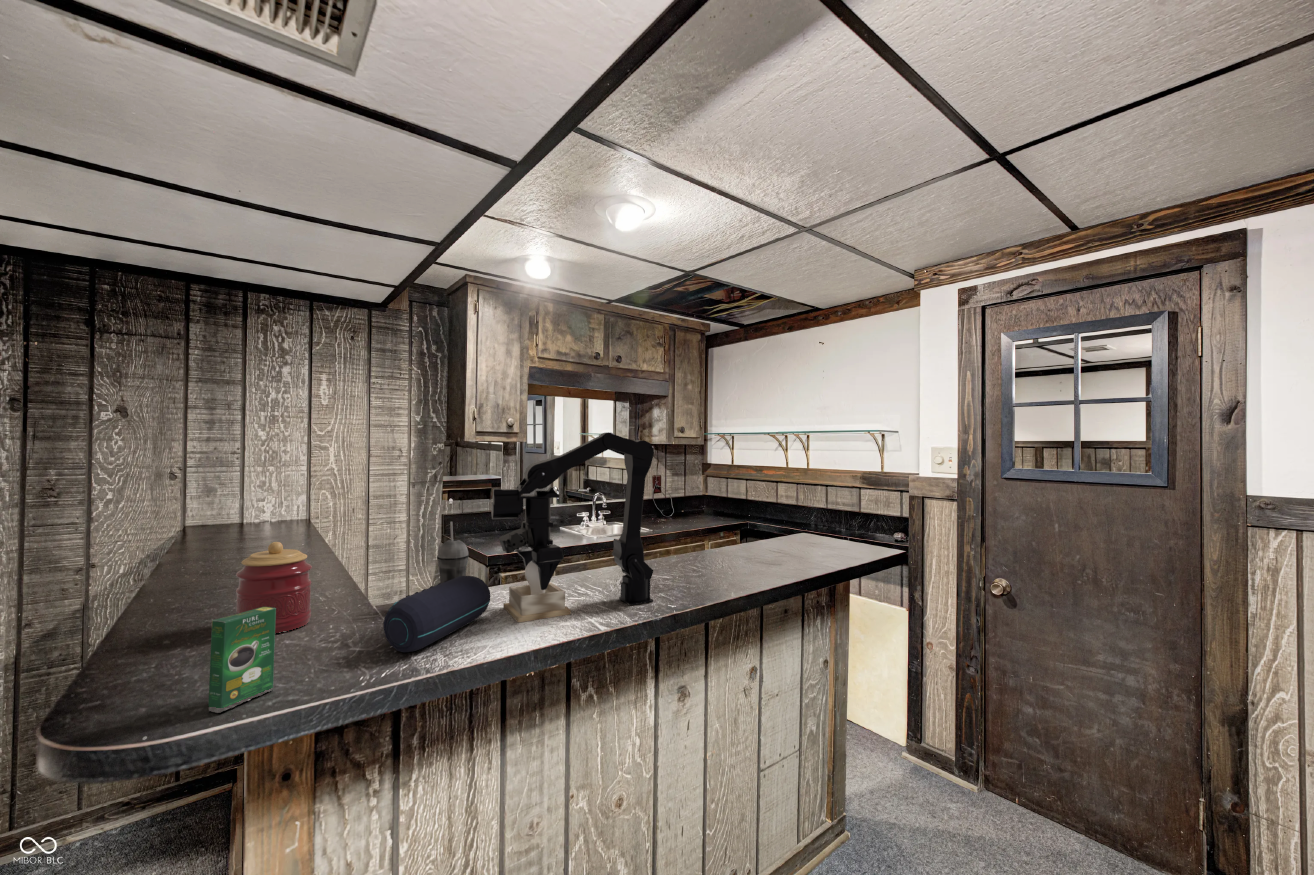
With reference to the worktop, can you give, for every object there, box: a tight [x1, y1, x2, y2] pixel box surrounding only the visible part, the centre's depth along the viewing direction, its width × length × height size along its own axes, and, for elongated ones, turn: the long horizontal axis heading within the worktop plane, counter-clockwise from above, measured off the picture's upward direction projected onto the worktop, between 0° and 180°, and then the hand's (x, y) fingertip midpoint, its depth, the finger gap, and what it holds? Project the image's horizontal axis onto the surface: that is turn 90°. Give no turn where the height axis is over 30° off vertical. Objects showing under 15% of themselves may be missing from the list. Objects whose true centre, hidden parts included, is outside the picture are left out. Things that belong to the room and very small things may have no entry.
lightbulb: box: [524, 561, 545, 595], centre depth 126 cm, size 6×6×11 cm
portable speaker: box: [382, 575, 491, 653], centre depth 110 cm, size 25×10×10 cm, turn 165°
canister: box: [235, 541, 313, 633], centre depth 114 cm, size 13×13×18 cm
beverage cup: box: [436, 521, 470, 583], centre depth 130 cm, size 7×7×20 cm
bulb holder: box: [503, 581, 572, 623], centre depth 126 cm, size 12×12×5 cm
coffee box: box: [208, 607, 276, 708], centre depth 81 cm, size 8×3×13 cm, turn 163°
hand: (537, 584), depth 126 cm, fingers open, 9 cm apart
